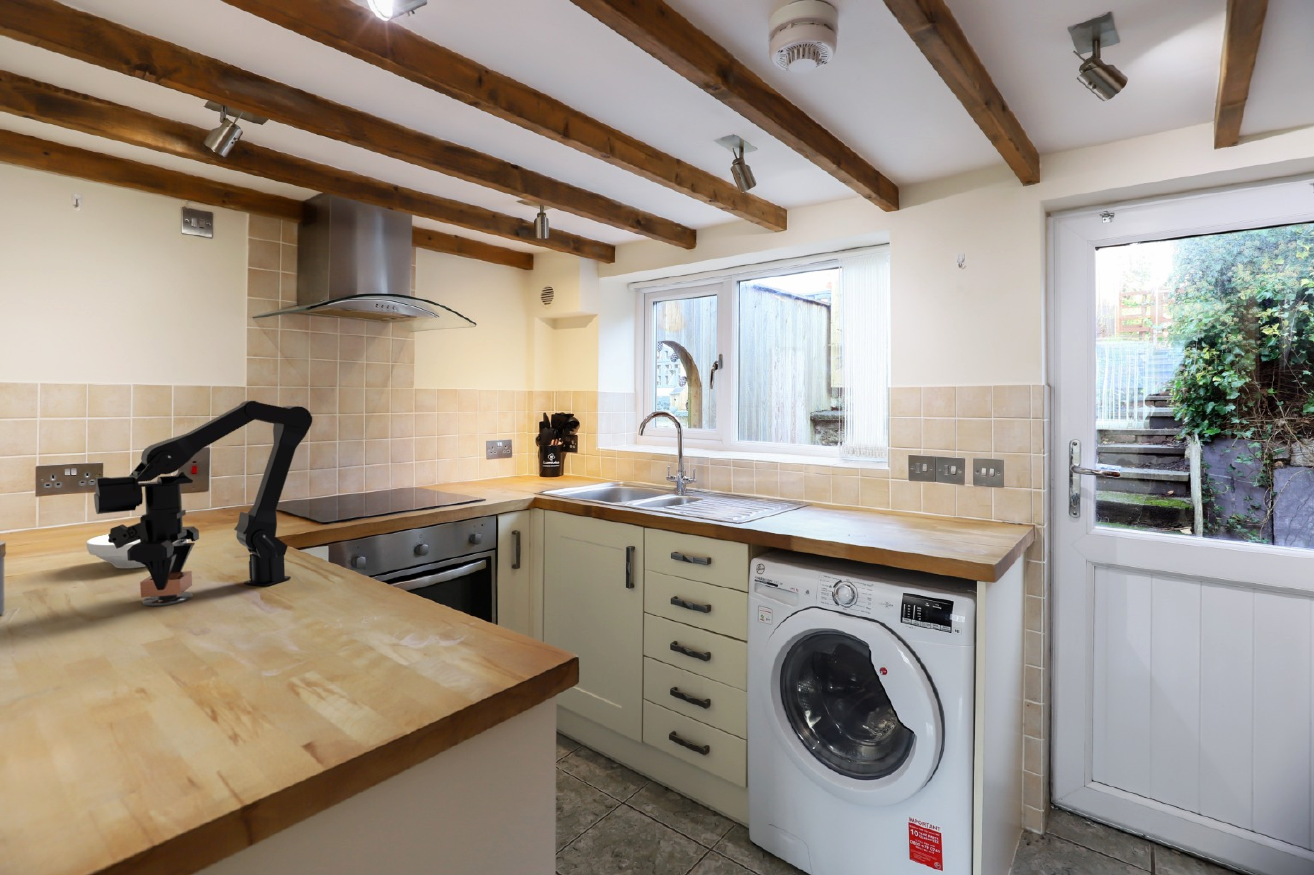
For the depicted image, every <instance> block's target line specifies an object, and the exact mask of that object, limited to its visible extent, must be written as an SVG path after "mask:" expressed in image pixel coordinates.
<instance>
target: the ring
mask: <svg viewBox="0 0 1314 875" xmlns="http://www.w3.org/2000/svg"><path fill="white" fill-rule="evenodd" d="M170 578H174V579H170ZM139 583H140V584H139V586H140V598H148V597H153V596H166V595H178V594H182V593H183V592H187V590H188V589H189V588H190V587H192V586H193V577H192V570H184V571H181V572H170V575H169V578H168V581H167V584H166V586H165V589H164V590H157V588H156V586H155V584H154V581H153V579H152V577H151V575H150V576H147V577H146V578H145V579H143V580H141V581H140V582H139Z"/></svg>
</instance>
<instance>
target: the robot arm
mask: <svg viewBox="0 0 1314 875" xmlns="http://www.w3.org/2000/svg"><path fill="white" fill-rule="evenodd" d="M256 420H257V421H260V422H263V423H264V422H265V423H268V424H273V427H272V434H273V445H272V447H271V451H270V454H269V456H268V461H267V463H266V467H265V470H264V472H263V476H262V479H261V482H260V485H259V488H258V491H257V494H256V496H255V500H254V503H253V505H252V506H251V507H250V509H249V510H248V512H247V513H246V512H244V511H240V512H239V516H238V517H239V518H238V522H237V525H236V526H235V527H234V529H233V530H234V531H236V534H235V537H236V539H237V541H238V543H239V544H241V545H242V546H244V548H246V549H247V551H248V552H249V553H250V554H249V561H248V570H249V571H248V572H249V574H248V575H249V579H248V580H245V581H244V583H243V584H244V585H249V586H250V585H251V586H260V587H269V586H273V585H275V584H278V583H281V582H285V581H288V580H291V576H290V575H286V574H285V569H286V568H285V555H286V552H287V550H288V548H289V547H288V545H287V543H285V542H283V541H282V540H280V539H279V538H278V537H277V536H276V535H277V528H278V527H277V526H278V521H277V520H278V518H277V508H278V505H279V503H280V499H281V496H282V494H283V493H282V492H283V489H284V488H285V484H286V480H287V478H288V474H289V471H290V468H291V464H292V461H293V458H294V455H295V452H296V450H297V448H298V446H299V445H300V444H301V443H302V441H303V439H305V438H306V436H307V434H308V432H309V430H310V428H311V426H312V424H313V415H312V414H311V412H310V411H309V410H308V409H307V408H306V407H304V406H299V405H288V406H287V405H286V406H278V405H273V404H267V403H263V402H260V401H257V400H245V401H243V402H241V403H240V404H239V405H237V406H235V407H234V408H232V409H230V410H227V411H226V412H225V413H223V414H221V415H218V416H216V417H215V418H212V419H211V420H210V421H207V422H206V423H204V424H202V425H200V426H198V427H195V428H194V429H192V430H191V431H189V432H187V433H185V434H182V435H181V434H180V435H179V436H178V435H177V436H174V437H171V438H167V439H165V440H162V441H159V442H155V443H154V444H151V445H149V446H148V447H146V448H144V450H142V452H141V456H140V462H139V464H138V465H137V466H136V467H135V469H133V470H132V472H131V473H130V474H129V475H128V476H119V477H118V476H114V477H107V476H100V477H96V478H95V483H96V484H95V489H94V494H93V500H94V509H95V512H96V514H97V515H102V514H112V513H121V512H133V511H136V509H137V507H140V506H141V505H143V500H145V501H144V502H145V513H144V514H142V515H141V516H140V518H139V521H140V522H137V523H135V524H132V525H129V526H127V525H125V524H120V525H119V524H118V525H117V526H113V527H111V528H110V530H109V531H110V533H108V534H109V535H108V536H109V539H108V542H110V543H114V545H115V547H116V549H118V548H120V547H123V546H124V545H126V544H128V543H131V542H134V541H137V540H139V539H140V542H139V543H137V544H135V545H133V546H132V547H131V548H129V549H128V550H127V556H128V560H129V561H134V560H135V561H136V562H140V563H142V564H143V565H145V566H146V568H147V570H148V572H149V575H150V576H151V577H152V579H153V581H154V584H155V586H156V588H157V590H164V589H165V586H166V584H167V581H168V578H169V575H170V572H183V568H184V566H185V565H186V561H187V560H188V557H189V556H190V553H191V551H192V550H193V548H194V546H195V544H196V543H195V542H196V541H198V540H199V539H200V531H199V529H198V528H196V527H195V526H194V525H193V526H183V517H185V516H186V515H187V513H186V512H187V511H186V509H183V507H182V506H183V505H182V503H183V502H182V485H183V484H184V485H185V484H192V483H193V482H194V479H192V478H191V477H189V476H188V475H186V473H185V472H184V471H182V470H179V469H181V468H182V467H183V466H184V465H185V464H187V463H188V462H190V461H191V460H192V459H193V457H195V456H196V455H197V454H198V453H199V452H200V451H201V450H202V449H204V448H206V447H208V446H209V445H212V444H214V443H215V442H217V441H219V440H221V439H223V438H224V437H225V436H228V435H230V434H231V433H233V432H235V431H237V430H238V429H241V428H242V427H244V426H246V425H248V424H250V423H251V422H254V421H256ZM178 470H179V471H178ZM177 471H178V472H177ZM175 472H177V473H176V474H174V475H170V474H173V473H175ZM161 475H162V476H161ZM155 479H156V480H155ZM153 480H155V481H153ZM143 488H144V494H143ZM143 495H144V496H145V498H144V496H143ZM187 539H188V540H190V541H191V542H187Z"/></svg>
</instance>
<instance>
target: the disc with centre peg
mask: <svg viewBox="0 0 1314 875" xmlns="http://www.w3.org/2000/svg"><path fill="white" fill-rule="evenodd" d="M170 579H174V578H170ZM193 595H194V594H193V593H192V592H189V591H184V592H183V593H182V594H178V595H166V596H153V597H145V598H144V599H143V600H142V606H144V607H165V606H171V605H176V604H180V603H183V602H187V601H189V600H191V599H193Z"/></svg>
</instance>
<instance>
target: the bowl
mask: <svg viewBox="0 0 1314 875" xmlns="http://www.w3.org/2000/svg"><path fill="white" fill-rule="evenodd" d="M109 534H110V533H108V534H104V535H99V536H95V537H92V538H90V539H88V540H86V542H85V543H86V549H87V552H88V554H89V555H91V556H96V557H97V558H99V559H101V560H103V561H105V562H107V563H110V564H111V565H113V567H115V568H117V569H135V568H137V569H138V568H145V567H146V566H145V565H143V564H142V563H140V562H136V561H135V560H134V561H129V560H128V556H127V550H128V549H129V548H131V547H132V546H133V545H135V544H137V543H139V542H140V539H139V540H137V541H134V542H131V543H128V544H126V545H124V546H123V547H120V548H118V549H116V547H115V545H114V543H110V542H108V539H109V536H108V535H109ZM187 543H189V539H187ZM146 568H147V567H146Z"/></svg>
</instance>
